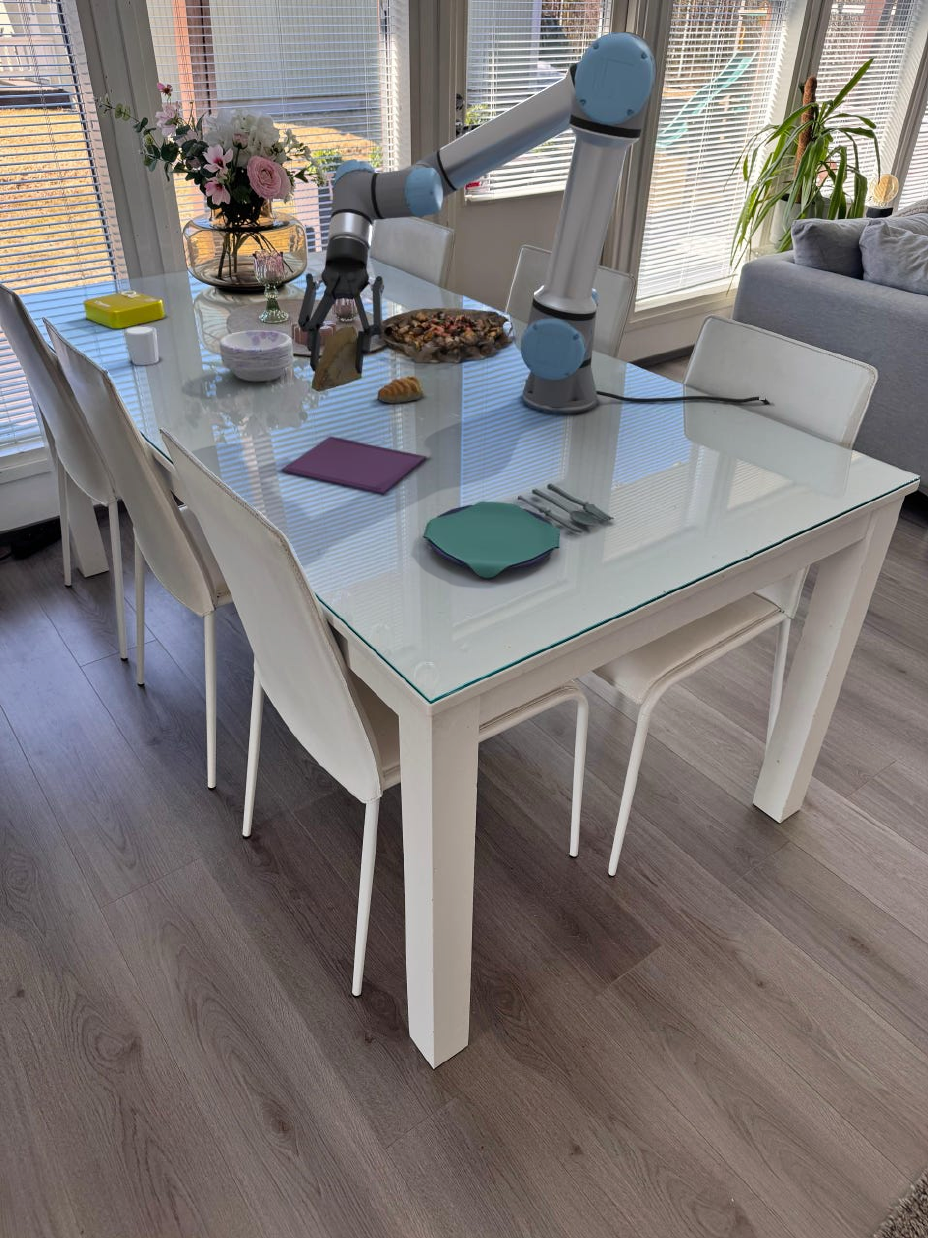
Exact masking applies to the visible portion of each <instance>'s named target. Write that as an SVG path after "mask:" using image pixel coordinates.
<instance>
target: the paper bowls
mask: <svg viewBox="0 0 928 1238" xmlns="http://www.w3.org/2000/svg"><path fill="white" fill-rule="evenodd" d="M219 348H220V358H221V363H222V365H223V366H224V367H225V368H227V369H230V370H231V371H232V372H233V374H234V376H236V378H239V379H240V380H243V381H247V382H257V383H258V382H269V381H273V380H276V379H278V378H280V377H281V376H282V375H283V374H284V372H285V370H286V368H287V367H289V366H291V365H292V364H293V363H294V351H293V350H294V349H293V339H292V338H291V336H289V335H288V334H286V333H284V332H281V331H274V330H260V329H256V330H254V329H253V330H243V331H237V332H236V331H235V332H232V333H229V334H227V335H224V336H223V337H221V338H220V340H219Z"/></svg>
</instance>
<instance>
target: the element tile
mask: <svg viewBox="0 0 928 1238" xmlns="http://www.w3.org/2000/svg"><path fill="white" fill-rule="evenodd" d="M82 304H83V307H84V312H85V317H86V319H87V320H88V321H92V322H94V323H97V324H99V325H102V326H105V327H108V328H111V329H115V330H119V329H127V328H130V327H135V326H139V325H143V324H146V323H151V322H155V321H159V320H162V319H164V318H165V316H166V315H165V309H164V304H163V300H162V299H160V298H157V297H153V296H150V295H148V294H144V293H141V292H140V291H139V292H138V291H136V290H125V291H122V292H117V293H112V294H107V295H102V296H98V297H93V298H88V299H85V300H83V302H82Z"/></svg>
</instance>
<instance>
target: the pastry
mask: <svg viewBox="0 0 928 1238" xmlns="http://www.w3.org/2000/svg"><path fill="white" fill-rule="evenodd" d="M423 396H424V390H423V386H422V384H421V382H420V379H418V378H417V377H416V376H406V377H405V378H403V377H401V378H397V379H396V378H395V379H393V380H391V382H389V383H388V384H385V385H384V386H383V387H381V388H380V389H379V390H377V399H378V400H380V401H382V402H385V403H389V404H396V403H404V402H411V401H413V400H414V401H417V400H420V399H421V398H422V397H423Z"/></svg>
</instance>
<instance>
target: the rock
mask: <svg viewBox="0 0 928 1238" xmlns="http://www.w3.org/2000/svg"><path fill="white" fill-rule="evenodd" d="M357 340H358V332H357V330H356V328H355V327H354V326H350V327H348V326H344V327H341V328H339V329H337V330H336V331H335V332H333V333H332V334H330V335H329V336H327V337H326V338H325V343H324V344H325V345H324V348H323V350H322V352H321V356H320V358H319V362H318V363H317V365H316V368H315V372H314V375H313V378H312V381H311V386H310V388H311V389H312V390H314V391H316V392H319V393H320V392H323V391H326V390H331V389H335V388H337V387H341V386H345V385H347V384H350V383H353V382H356V381H359V380H361V379H362V378H363V376H362V374H363V373H362V374H358V373H357V371H356V368H355V360H356V350H357Z"/></svg>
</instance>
